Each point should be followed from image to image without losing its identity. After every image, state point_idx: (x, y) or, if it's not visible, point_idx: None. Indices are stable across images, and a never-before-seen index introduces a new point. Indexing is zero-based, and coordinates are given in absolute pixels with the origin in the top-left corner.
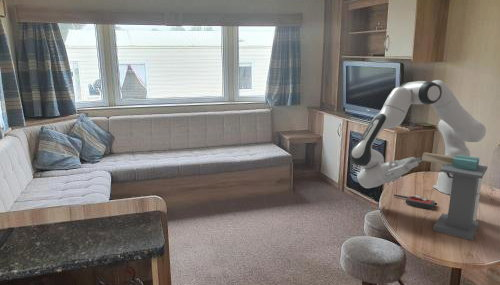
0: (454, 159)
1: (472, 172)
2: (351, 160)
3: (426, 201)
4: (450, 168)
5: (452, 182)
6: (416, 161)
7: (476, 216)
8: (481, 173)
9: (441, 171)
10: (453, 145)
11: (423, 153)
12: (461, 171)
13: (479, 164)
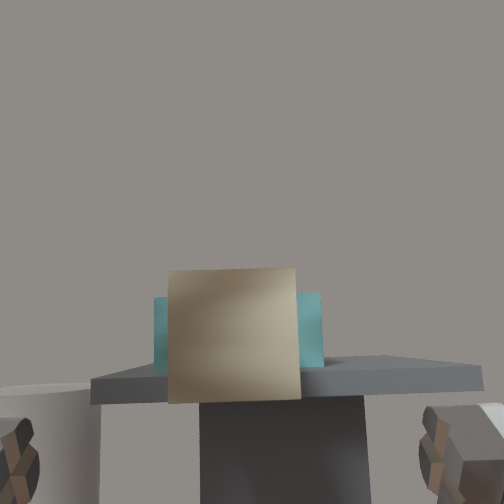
0: (318, 299)
1: (355, 358)
2: None
3: None
4: (381, 364)
5: (368, 488)
6: (439, 410)
7: None
8: (334, 357)
9: (479, 387)
10: None
11: (268, 268)
12: (391, 360)
13: (55, 385)
